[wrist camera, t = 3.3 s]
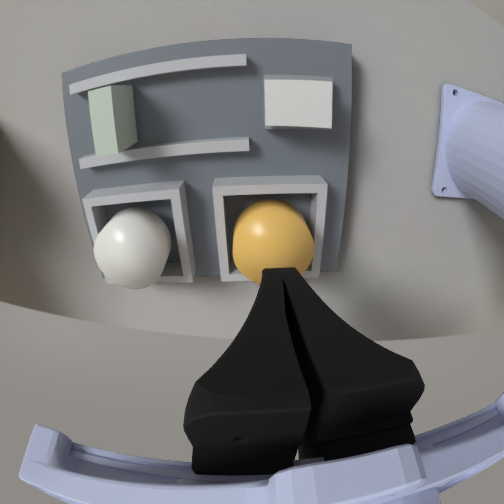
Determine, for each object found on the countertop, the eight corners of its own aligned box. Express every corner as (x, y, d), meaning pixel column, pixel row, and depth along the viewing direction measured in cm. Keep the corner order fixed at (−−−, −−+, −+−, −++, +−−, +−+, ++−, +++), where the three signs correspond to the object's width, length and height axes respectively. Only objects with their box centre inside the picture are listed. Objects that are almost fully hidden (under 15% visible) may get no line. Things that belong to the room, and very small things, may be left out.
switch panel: (342, 47, 13) (361, 40, 11) (331, 258, 20) (342, 283, 18) (74, 72, 13) (47, 73, 10) (110, 266, 20) (95, 291, 18)
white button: (165, 204, 15) (156, 220, 13) (176, 267, 17) (170, 288, 16) (100, 210, 15) (85, 226, 13) (116, 269, 17) (105, 288, 15)
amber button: (308, 198, 15) (316, 213, 14) (304, 262, 17) (310, 283, 16) (231, 200, 15) (229, 216, 13) (235, 265, 17) (235, 286, 16)
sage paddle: (132, 84, 13) (110, 85, 10) (138, 141, 14) (118, 153, 12) (112, 89, 13) (87, 91, 10) (118, 144, 14) (96, 156, 12)
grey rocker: (330, 82, 12) (332, 81, 11) (330, 126, 13) (331, 128, 12) (266, 80, 12) (264, 79, 12) (267, 123, 13) (265, 125, 13)
